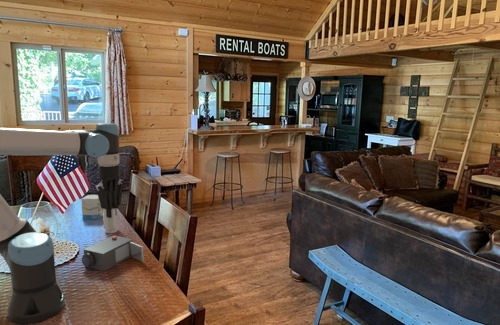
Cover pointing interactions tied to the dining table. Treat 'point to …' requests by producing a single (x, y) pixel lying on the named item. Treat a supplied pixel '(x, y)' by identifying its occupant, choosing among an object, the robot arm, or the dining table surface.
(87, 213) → the ink box
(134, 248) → the side door
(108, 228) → the candle
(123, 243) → the camera body
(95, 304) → the dining table surface
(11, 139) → the robot arm
